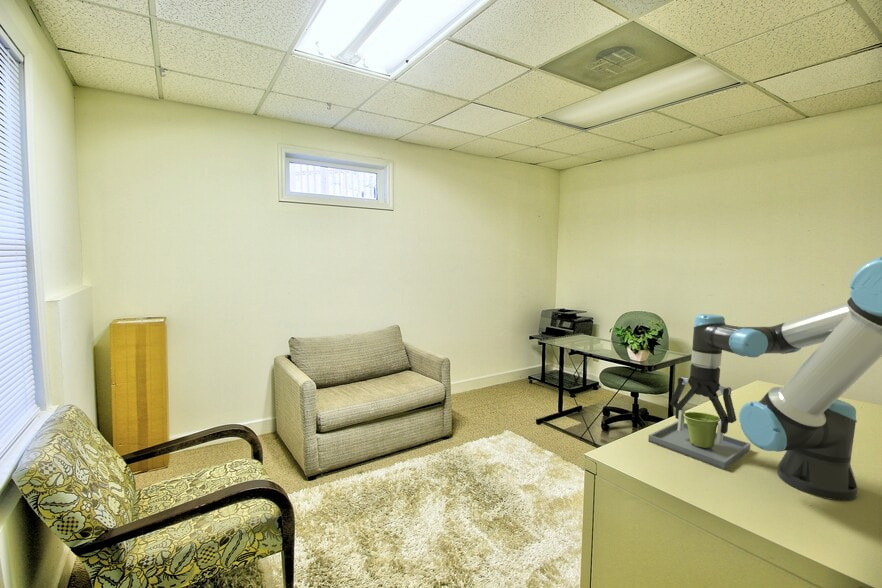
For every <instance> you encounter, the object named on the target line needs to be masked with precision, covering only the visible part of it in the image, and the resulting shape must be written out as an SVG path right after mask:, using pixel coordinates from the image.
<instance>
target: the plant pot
mask: <svg viewBox="0 0 882 588" xmlns="http://www.w3.org/2000/svg"><path fill="white" fill-rule="evenodd" d="M684 417H685V419H684V420H685V421H686V422H685V423H687V426H688V432H689V438H690V443H691V444H694V445H695V446H697V447H703V448H707V447H714V442H715V435H716V433H717V429H718V422H719V421H721V420H720V418H719V416H718V415H715V414H711V413H707V412H699V411H698V412H697V411H688V412H685V413H684Z"/></svg>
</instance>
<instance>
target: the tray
mask: <svg viewBox="0 0 882 588" xmlns="http://www.w3.org/2000/svg"><path fill="white" fill-rule="evenodd" d="M677 428H678V420H677V421H675V422H673V423H671V424H669V425H667V426H665V427H663V428H660V429H659V430H657V431H654V432H652V433H650V434H648V438H647V439H648V440H647V441H648V443H651V444H654V445H656V446H659V447H662V448H664V449H667V450H670V451H673V452H675V453H678V454H679V455H682V456H686V457H688V458H691V459H694V460H697V461H699V462H702V463H703V464H706V465H707V464H708V465H710V466H713V467H714V468H717V469H720V470H723V471H725V470H726V469H728V468H729V467H730V466H731V465H733V464H734V463H735V462H737V461H738V460H739V459H741V458H743V456H744V455H746V454H747V453H749V452H750V451H751V445H752V443H751V442H750V443H749V442H746V441H743V440H739V439H737V438H734V437H731V436H727V435H725V434H723V442H722V443H720V444H717V443H716V440H717V432H716V435H715V442H714V447H707V448H703V447H697V446H695V445H694V444H691V443H690V438H689V432H688V426H687V422H684V429H683V430H681V431H678V430H677Z"/></svg>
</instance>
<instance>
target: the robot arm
mask: <svg viewBox="0 0 882 588" xmlns="http://www.w3.org/2000/svg"><path fill="white" fill-rule="evenodd" d="M849 288H850V289H851V291H850V292H849V294H850V297H849V298H848V299H847V301H846V302H844V303H841V304H838V305H835V306H831V307H828V308H826V309H822V310H819V311H816V312H813V313H809V314H806V315H804V316H801V317H797V318H794V319H792V320H789V321H786V322H782V323H779V324H776V325H773V326H772V325H771V326H737V325H736V326H735V325H732V324H731V325H730V324H726V322H725V321H726V319H725V317H724V316H723V315H720V314H719V315H718V314H713V313H711V314H709V313H699V314H696V316H695V317H694V318H695V319H694V325H693V334H692V335H693V336H692V348H691V356H690V357H691V359H690V362H691V364H690V371H689V378H687V377H685V376H680V377H678V379H677V386H676V388H675V391H674V392H673V395H672V397H671V399H670V402H669V405H670V406H671V407H674V409H675V414H674V415H675V419H677V421H678V428H677V430H678V431H681V430H683V429H684V423H685V420H686V419H685V417H684V413H686V408H684V407H685V405H687V404H688V402H689V401H690V400H692V398H693V397H694V395H698V396H703V397H705V398H708V399H709V400H710V402H711V404H712V405H713V408H714V410H715V412H716V413H717V417H719V418H720V421H719V422H718V425H717V429H716V433H717V440H716V443H717V444H720V443H722V442H723V435H725V434H727V433H728V429H729V424H733V423H735V422H737V416H736V412H735V408H734V404H733V403H734V402H733V400H732V388H731V387H729V386H727V387H725V386H722V385H721V384H720V379H721V378H720V375H721V364H722V362H721V361H722V353H723V351H724V352H728V353H732V354H735V355H739V356H741V357H747V358H759V357H760V356H761V355H763V354H765V355H766V354H780V355H787V354H794V353H797V352H799V351H800V350H801V349H802V348H806V347H809V346H814V345H817V344H818V345H819V344H820V345H819V346H818V347H817V348H816V349H815V350H814V352H812V354H811V355H810V356H809V357H808V359H806V360H805V361H804V362H803V364H801V366H800V367H799V368H798V369H797V371H796V372H795V373H794V374H793V375H792V376H791V377H790V378H789V379H788V380H787V382H786V383H785V384H784V385H783V386H773V387H772V388H770V389H769V390H768V392H767V393H765V394H764V395H763V397H762V398H761V399H760V400H758V401H755V400H754V401H749V402H747V403H745V404H743V406H742V407H740V411H739V415H738V419H739V420H738V421H739V423H740V427H741V428H740V429H741V430H742V432H743V434H744V436H745V437H746V438H747V439H748V441H749V442H750V444H751V445H754V446H755V447H756V448H758V449H760V450H763V451H767V452H777V453H778V452H781V453H782V452H784V455H783V457H782V458H781V460H780V461H779V463H778V465H777V471H776V472H777V476H778V477H779V478H780V479H781V480H782V481H784V482H785V483H786V484H787V485H789V486H791V487H794V488H796V489H797V490H800V491H802V492H804V493H807V494H811V495H814V496H816V497H820V498H824V499H827V500H828V499H829V500H835V501H841V502H842V501H845V502H849V501H853V500H855V499H857V498H858V497H857V496H858V483H857V481H856V479H855V478H856V477H855V475H854V471H853V468H852V465H851V461H852V453H853V447H854V446H853V445H854V438H855V429H856V424H857V420H858V419H857V410H856V407H854V406H853V405H852V404H851V403H848V402H846V401H843V400H842V399H840V397H841V396H843V394H844V393H845V392H847V390H849V388H851V387H852V386H853V385H854V384H855V383H856V381H858V380H860V378H861V377H862V376H863V375H864V374H865V373H866V372H867V371H868V370H869V369H870V368H871V367H873V366H874V364H876V362H878V360H880V358H881V357H882V256H879V257H877V258H873V259H871V260H870V261H868V262H866V263H865V264H863V265H862V266H860V267H859V268H858V269H857V270H856V272H855V273H854V274H853V275H852V278H851V280H850V283H849ZM687 384H689V386H690V389H689V390H688V391H687V393H686V394H685V395H683V398H682V399H680V398H681V395H682V393H683V391H684V389H685V388H686V387H685V386H686V385H687ZM718 391H720V393H721V395H722V398H723V399H722V400H723V403H724V407H723V405H722V402H721V401H720V399H719V396H718V393H717V392H718ZM679 400H680V401H679Z"/></svg>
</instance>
